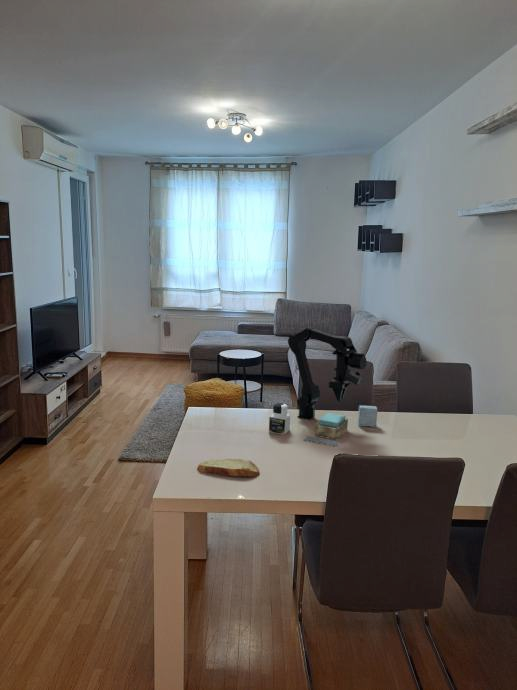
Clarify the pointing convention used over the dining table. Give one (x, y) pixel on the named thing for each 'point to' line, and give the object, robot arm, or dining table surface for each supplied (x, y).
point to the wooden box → (331, 430)
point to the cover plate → (332, 420)
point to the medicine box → (367, 416)
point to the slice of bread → (229, 468)
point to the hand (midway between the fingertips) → (340, 400)
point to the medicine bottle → (279, 419)
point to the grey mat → (322, 441)
